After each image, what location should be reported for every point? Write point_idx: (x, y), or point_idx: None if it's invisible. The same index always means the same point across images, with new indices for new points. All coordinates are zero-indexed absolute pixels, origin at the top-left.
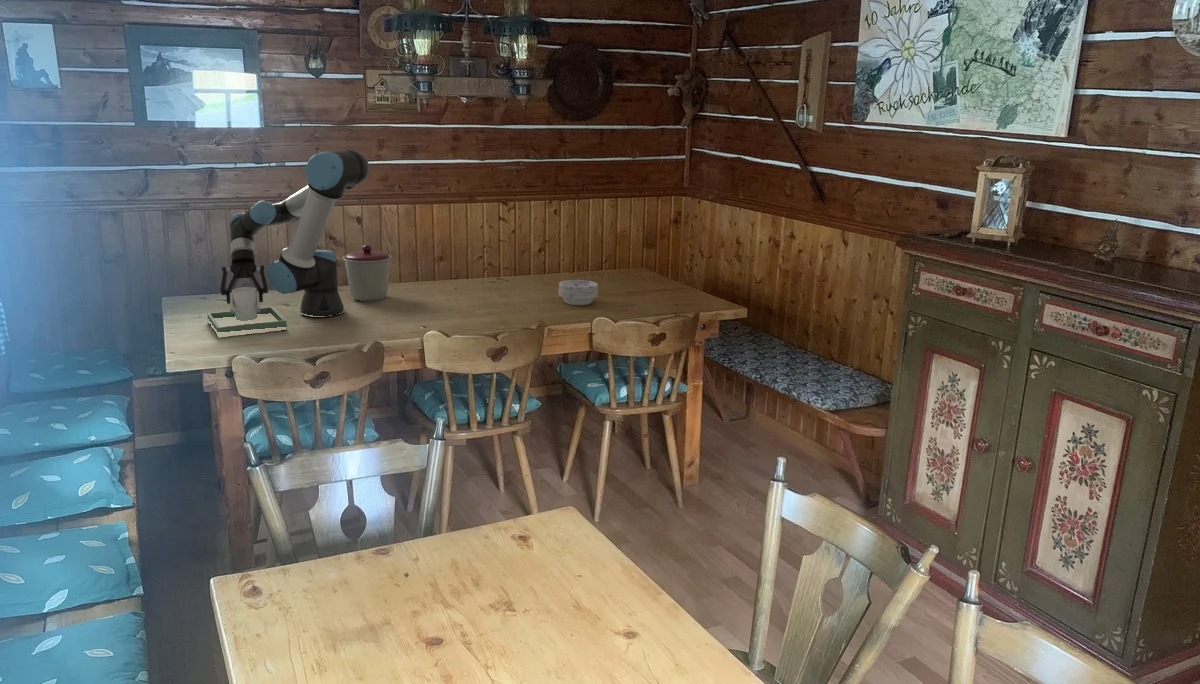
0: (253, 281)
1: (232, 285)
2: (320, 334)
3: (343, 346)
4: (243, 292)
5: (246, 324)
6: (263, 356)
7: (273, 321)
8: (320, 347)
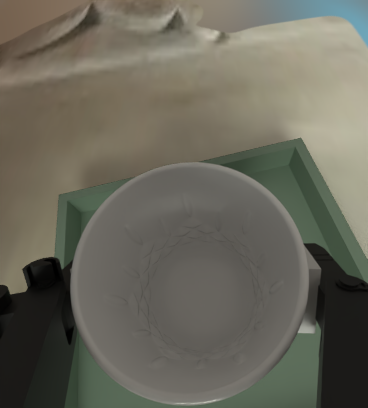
0: (30, 378)
1: (330, 346)
2: (11, 159)
3: (11, 76)
4: (188, 163)
5: None
6: (166, 36)
7: (102, 190)
8: (52, 73)
